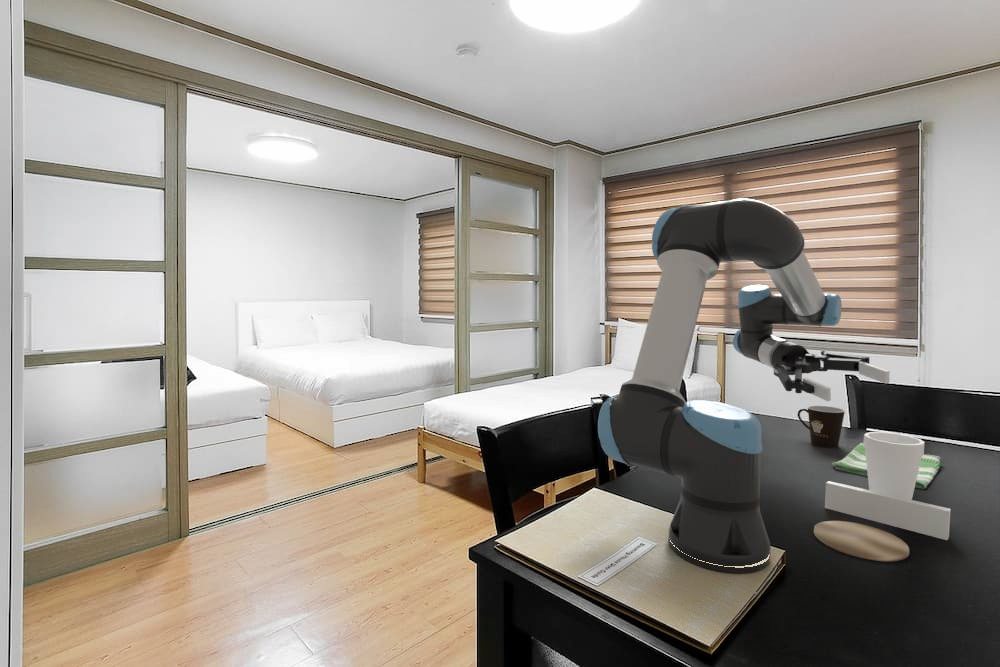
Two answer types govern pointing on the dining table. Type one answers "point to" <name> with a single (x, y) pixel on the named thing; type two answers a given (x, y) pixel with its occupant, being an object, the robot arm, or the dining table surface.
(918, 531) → the low wall
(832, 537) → the cork coaster
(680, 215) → the robot arm
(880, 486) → the foam cup
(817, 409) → the coffee mug
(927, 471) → the dish towel
